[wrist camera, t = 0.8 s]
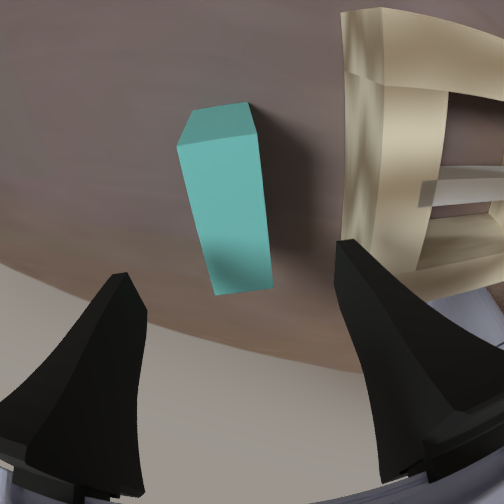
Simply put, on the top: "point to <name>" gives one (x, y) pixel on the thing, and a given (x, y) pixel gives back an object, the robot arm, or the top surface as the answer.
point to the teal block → (227, 196)
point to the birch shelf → (418, 150)
